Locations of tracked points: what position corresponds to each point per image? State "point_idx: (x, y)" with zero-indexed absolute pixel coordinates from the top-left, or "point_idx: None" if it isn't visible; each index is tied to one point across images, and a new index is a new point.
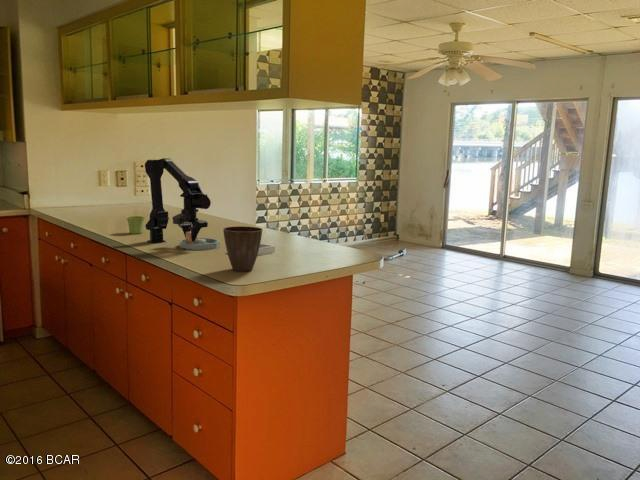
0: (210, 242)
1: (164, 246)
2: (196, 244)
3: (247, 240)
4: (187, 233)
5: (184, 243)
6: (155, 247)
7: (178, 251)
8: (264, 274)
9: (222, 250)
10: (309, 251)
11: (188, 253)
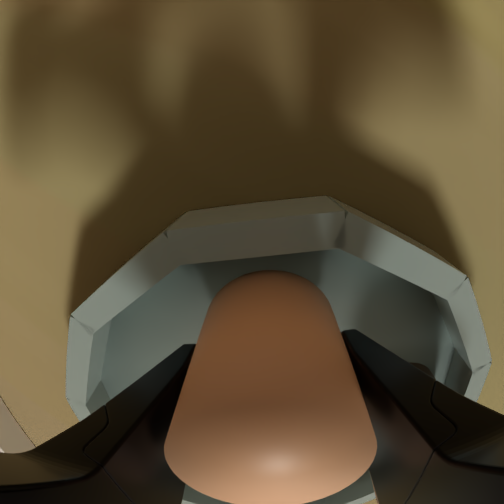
0: None
1: (497, 107)
2: (77, 309)
3: None
4: (222, 392)
5: (239, 221)
6: (483, 12)
7: (126, 59)
8: None
9: (44, 404)
10: None
11: (3, 122)
